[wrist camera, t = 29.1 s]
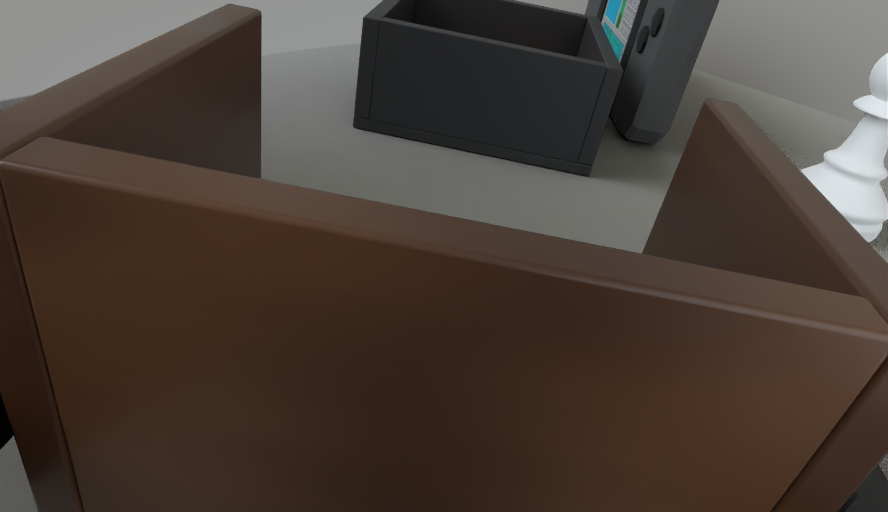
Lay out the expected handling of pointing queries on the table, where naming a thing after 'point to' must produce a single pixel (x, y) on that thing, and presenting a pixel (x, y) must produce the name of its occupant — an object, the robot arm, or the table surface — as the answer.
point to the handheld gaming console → (652, 58)
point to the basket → (488, 79)
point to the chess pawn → (860, 162)
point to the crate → (411, 323)
